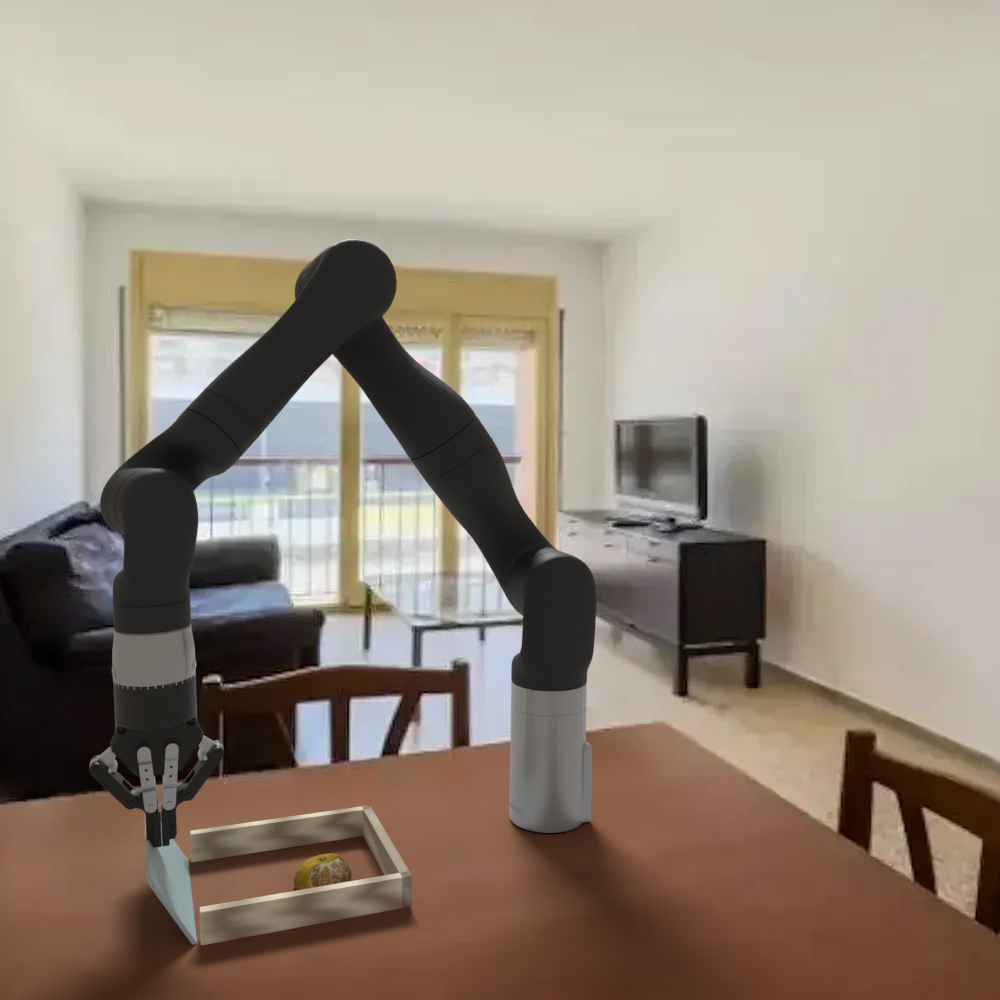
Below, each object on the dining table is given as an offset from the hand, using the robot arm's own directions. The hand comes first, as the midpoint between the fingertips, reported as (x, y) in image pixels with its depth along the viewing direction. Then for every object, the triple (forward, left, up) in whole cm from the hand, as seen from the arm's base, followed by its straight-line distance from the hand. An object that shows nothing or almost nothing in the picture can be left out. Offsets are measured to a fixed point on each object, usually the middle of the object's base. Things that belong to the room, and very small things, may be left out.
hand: (161, 843), depth 91 cm
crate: (-13, 0, -6) cm, 15 cm away
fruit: (-16, +4, -7) cm, 18 cm away
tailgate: (-3, 0, -6) cm, 7 cm away
